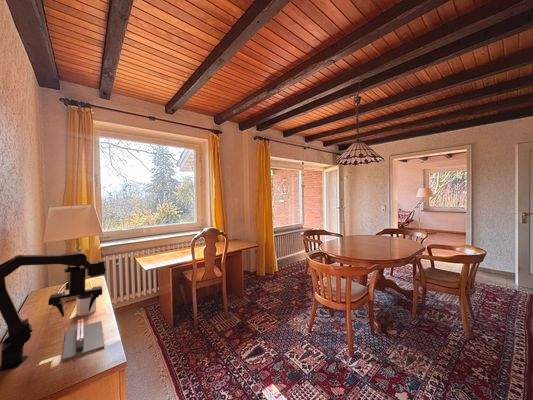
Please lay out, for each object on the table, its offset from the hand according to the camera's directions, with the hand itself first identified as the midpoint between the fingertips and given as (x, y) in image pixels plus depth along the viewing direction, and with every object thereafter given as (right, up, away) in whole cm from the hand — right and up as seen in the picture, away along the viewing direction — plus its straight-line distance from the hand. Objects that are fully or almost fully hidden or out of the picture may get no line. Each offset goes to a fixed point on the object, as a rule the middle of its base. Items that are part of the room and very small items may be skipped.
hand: (76, 313), depth 104 cm
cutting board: (+3, -13, +1) cm, 13 cm away
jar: (-17, -13, +26) cm, 34 cm away
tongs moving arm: (+1, -12, +2) cm, 12 cm away
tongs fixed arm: (+1, -12, +1) cm, 12 cm away
